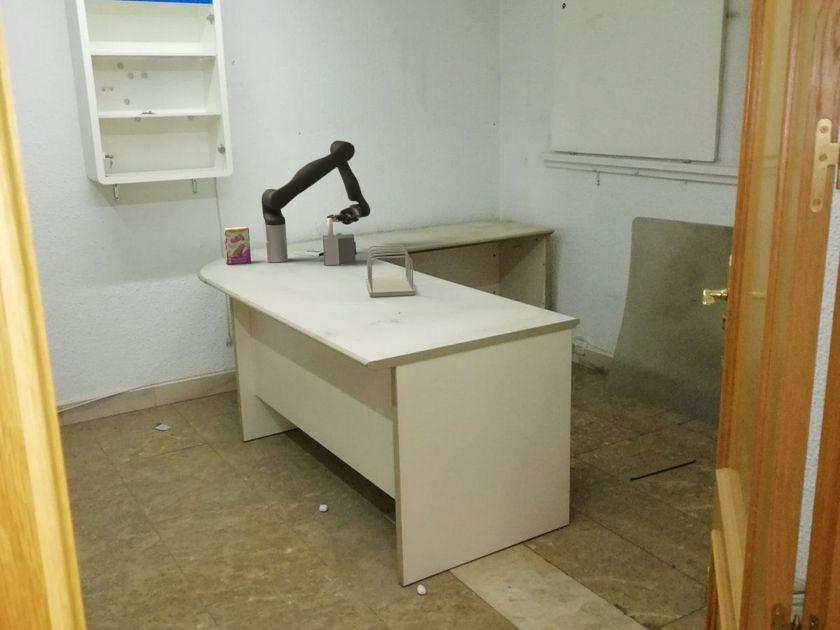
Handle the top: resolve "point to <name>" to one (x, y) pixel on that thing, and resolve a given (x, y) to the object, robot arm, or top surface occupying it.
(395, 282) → the file sorter
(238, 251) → the candy bar box
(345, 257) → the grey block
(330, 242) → the grey spatula
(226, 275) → the top surface
